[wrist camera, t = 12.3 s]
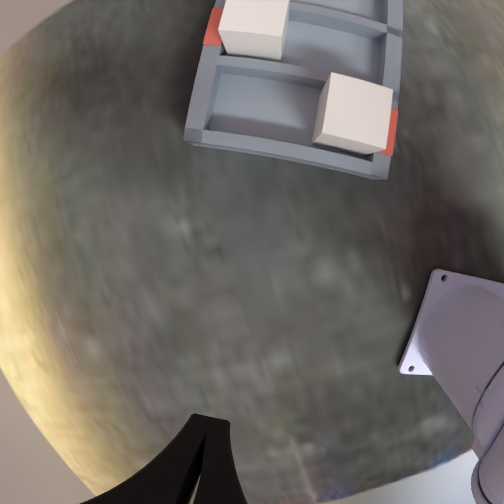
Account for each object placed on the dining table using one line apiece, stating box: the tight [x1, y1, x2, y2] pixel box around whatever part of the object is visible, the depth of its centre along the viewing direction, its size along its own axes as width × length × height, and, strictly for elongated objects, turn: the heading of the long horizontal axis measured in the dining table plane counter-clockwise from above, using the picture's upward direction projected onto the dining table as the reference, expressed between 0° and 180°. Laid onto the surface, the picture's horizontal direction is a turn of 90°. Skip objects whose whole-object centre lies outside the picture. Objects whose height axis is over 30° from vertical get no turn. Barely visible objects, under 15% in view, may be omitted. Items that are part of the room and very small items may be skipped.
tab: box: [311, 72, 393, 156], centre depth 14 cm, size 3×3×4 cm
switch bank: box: [183, 0, 403, 180], centre depth 15 cm, size 11×14×3 cm
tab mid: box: [218, 0, 290, 63], centre depth 13 cm, size 3×3×4 cm
